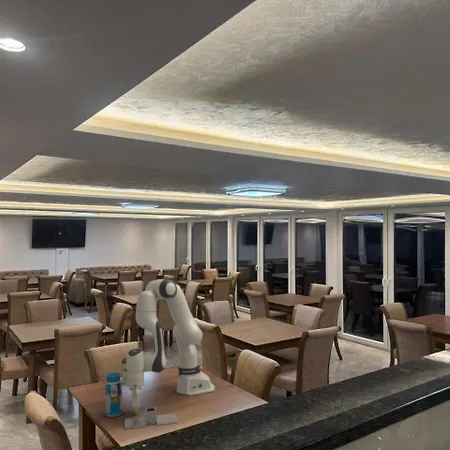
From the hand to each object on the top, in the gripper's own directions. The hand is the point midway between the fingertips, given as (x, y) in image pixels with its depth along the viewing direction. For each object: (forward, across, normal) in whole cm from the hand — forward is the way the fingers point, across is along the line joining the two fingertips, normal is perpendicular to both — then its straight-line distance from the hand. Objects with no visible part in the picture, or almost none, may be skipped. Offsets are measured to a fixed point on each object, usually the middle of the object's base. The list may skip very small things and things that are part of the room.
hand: (135, 409), depth 215 cm
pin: (+3, 0, 0) cm, 3 cm away
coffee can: (+3, +50, +2) cm, 50 cm away
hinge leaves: (+3, -11, -7) cm, 13 cm away
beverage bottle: (+3, +4, +11) cm, 12 cm away
